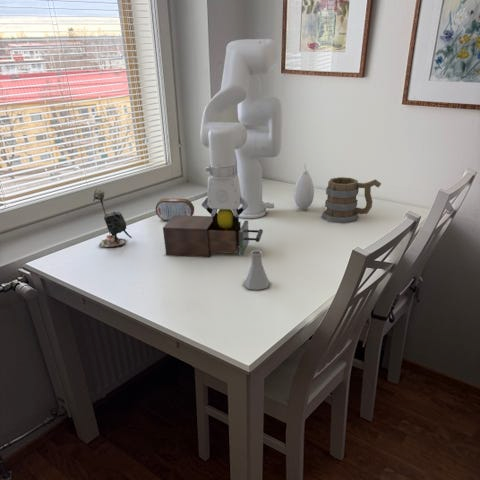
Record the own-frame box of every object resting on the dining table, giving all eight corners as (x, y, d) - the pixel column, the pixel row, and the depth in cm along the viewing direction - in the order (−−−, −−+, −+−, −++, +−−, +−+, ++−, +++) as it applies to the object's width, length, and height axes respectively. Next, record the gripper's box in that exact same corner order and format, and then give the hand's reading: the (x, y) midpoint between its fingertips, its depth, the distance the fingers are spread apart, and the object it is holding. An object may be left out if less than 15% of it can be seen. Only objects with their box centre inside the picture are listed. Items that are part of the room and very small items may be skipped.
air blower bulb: (315, 207, 191) (318, 162, 181) (309, 213, 185) (311, 166, 175) (297, 205, 194) (298, 160, 184) (291, 211, 188) (292, 165, 178)
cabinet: (217, 243, 161) (215, 216, 156) (209, 257, 151) (207, 229, 146) (176, 241, 163) (174, 215, 158) (166, 255, 153) (162, 227, 148)
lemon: (237, 227, 153) (236, 204, 149) (231, 233, 148) (230, 209, 144) (221, 226, 154) (219, 202, 150) (215, 232, 150) (213, 208, 146)
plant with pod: (125, 249, 158) (116, 191, 148) (95, 247, 161) (83, 190, 150) (135, 240, 165) (126, 184, 155) (106, 238, 167) (95, 183, 157)
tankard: (320, 220, 177) (322, 181, 169) (327, 210, 187) (330, 172, 179) (373, 226, 170) (378, 185, 162) (378, 215, 180) (383, 176, 172)
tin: (195, 218, 183) (193, 197, 179) (193, 221, 180) (191, 200, 176) (158, 218, 185) (155, 197, 180) (156, 221, 182) (153, 200, 178)
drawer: (263, 243, 157) (263, 221, 153) (259, 256, 148) (258, 232, 144) (210, 241, 160) (208, 219, 156) (202, 253, 151) (200, 230, 147)
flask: (243, 280, 136) (242, 248, 130) (267, 278, 136) (267, 246, 131) (245, 291, 129) (244, 258, 124) (271, 289, 130) (271, 256, 125)
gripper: (192, 173, 140) (197, 230, 149) (248, 174, 137) (250, 232, 146) (199, 167, 146) (203, 222, 156) (252, 168, 143) (253, 224, 153)
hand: (226, 226), depth 151 cm, fingers closed on lemon, 5 cm apart
